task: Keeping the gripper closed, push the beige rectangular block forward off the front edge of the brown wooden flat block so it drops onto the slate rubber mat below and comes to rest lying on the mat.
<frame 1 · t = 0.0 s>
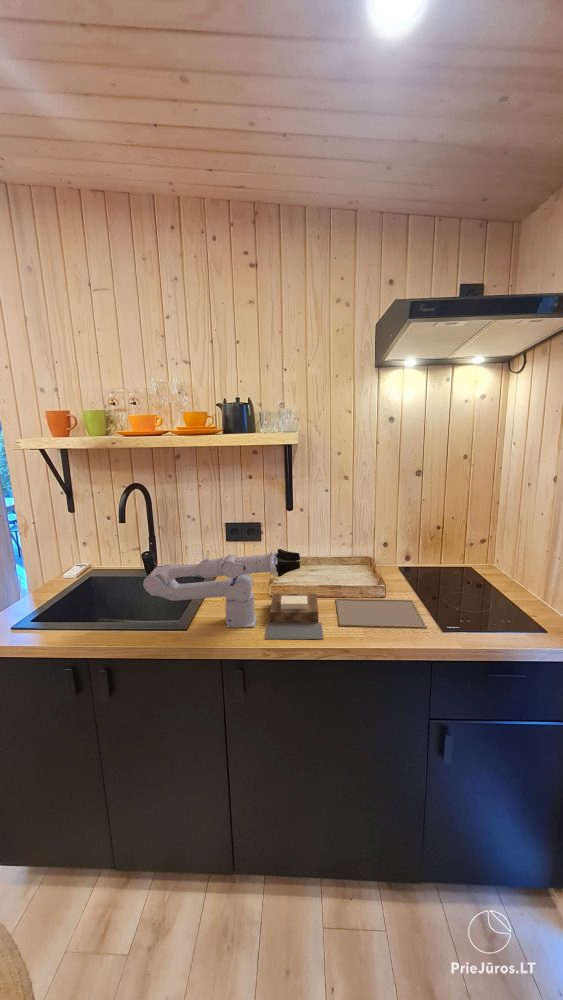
hand: (299, 560, 131), 22 cm above the counter, tool horizontal, fingers open, 7 cm apart
taupe placemat: (377, 614, 140), on the counter
mat: (294, 631, 130), on the counter
beige rectangular block: (294, 605, 139), point 4 cm above the counter, touching brown wooden flat block
brown wooden flat block: (294, 613, 141), on the counter
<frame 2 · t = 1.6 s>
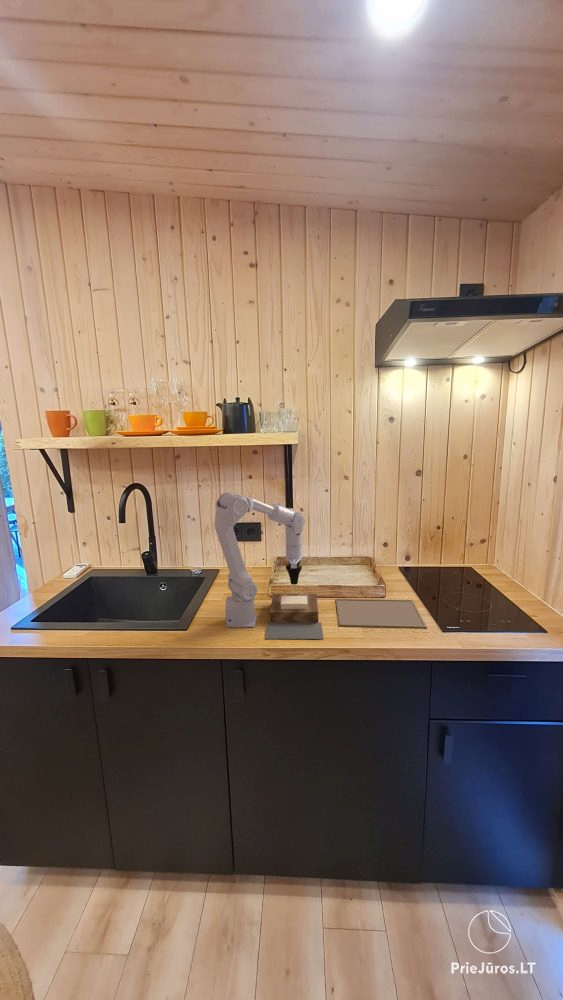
hand: (294, 579, 146), 9 cm above the counter, tool pointing down, fingers open, 7 cm apart
nothing on the counter moved.
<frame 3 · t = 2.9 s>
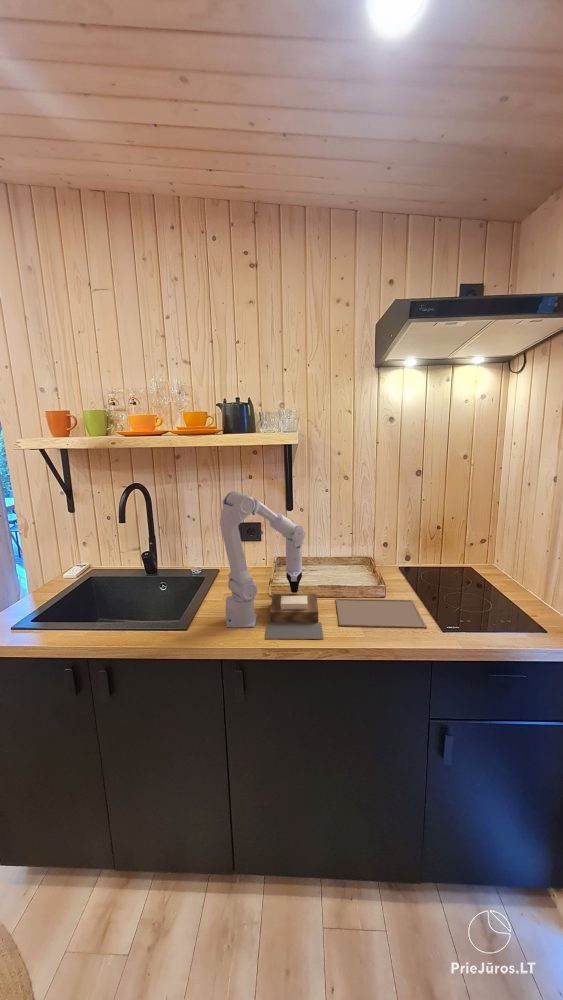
hand: (294, 592, 147), 5 cm above the counter, tool pointing down, fingers closed
nothing on the counter moved.
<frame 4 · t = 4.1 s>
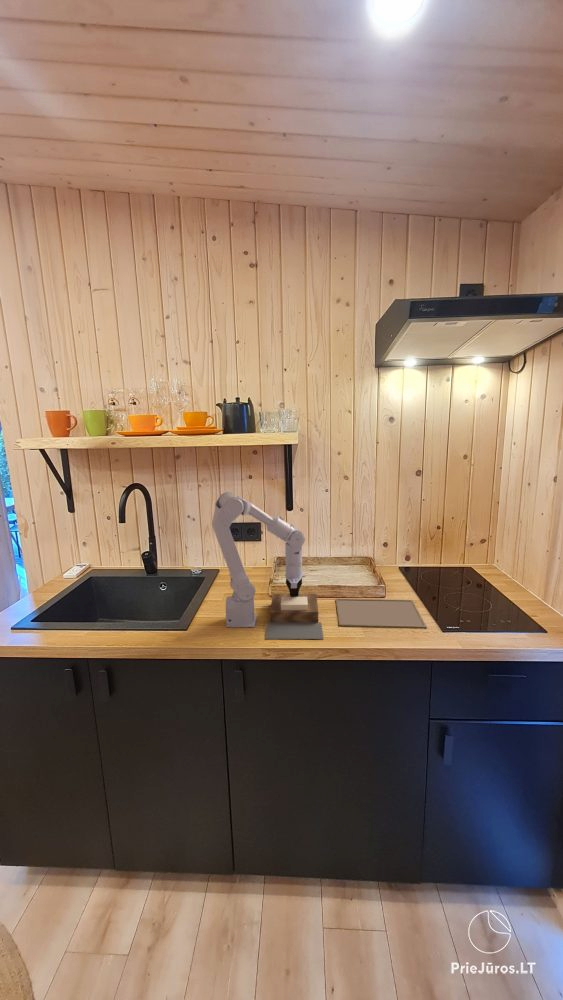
hand: (294, 598, 142), 5 cm above the counter, tool pointing down, fingers closed
beige rectangular block: (294, 606, 138), point 4 cm above the counter, touching gripper
everything else where it was.
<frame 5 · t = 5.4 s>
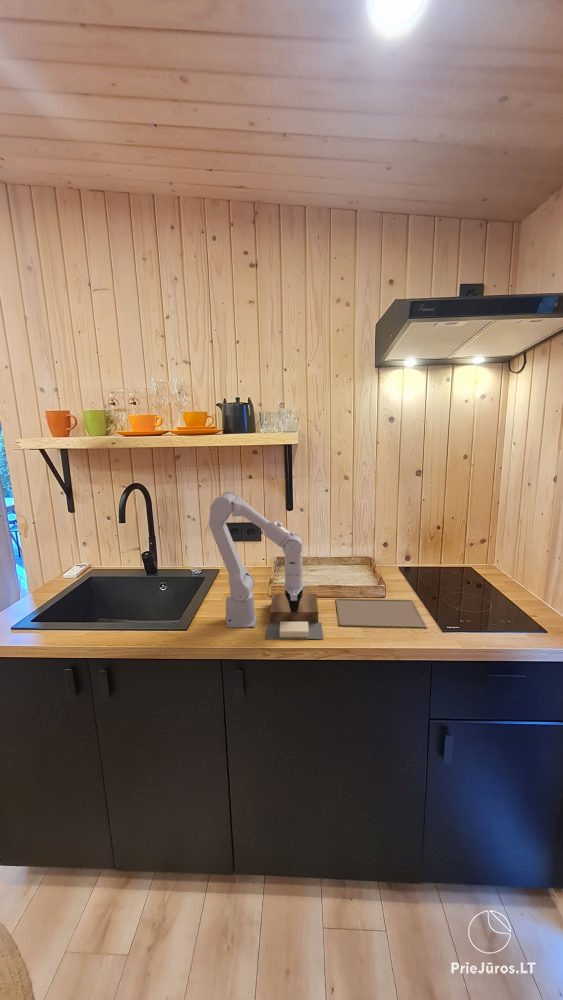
hand: (294, 611, 133), 5 cm above the counter, tool pointing down, fingers closed
beige rectangular block: (294, 626, 128), point 2 cm above the counter, tilted 180°, touching mat
everything else where it was.
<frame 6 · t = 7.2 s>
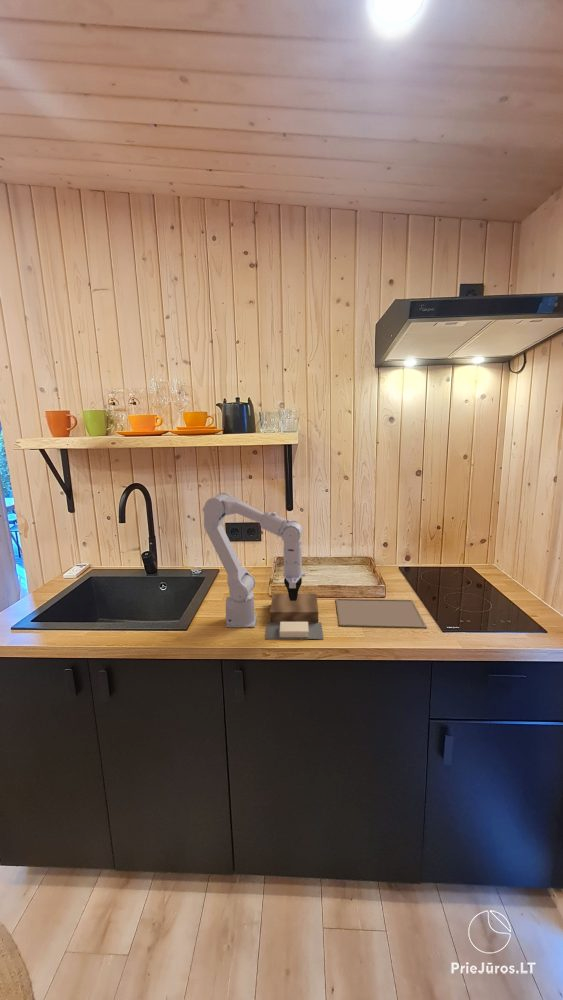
hand: (293, 599, 131), 9 cm above the counter, tool pointing down, fingers closed
nothing on the counter moved.
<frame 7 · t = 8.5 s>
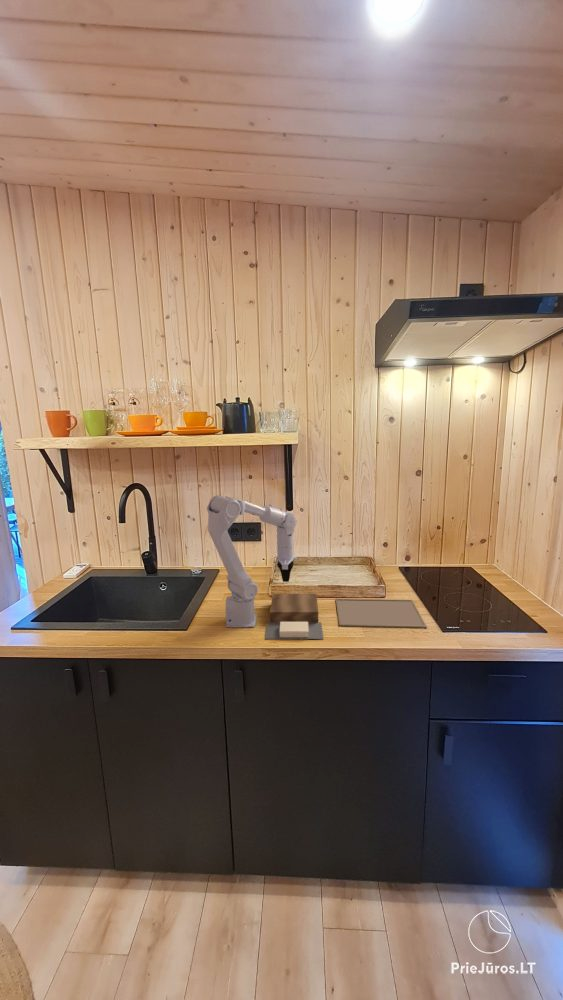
hand: (285, 581, 145), 9 cm above the counter, tool pointing down, fingers closed
nothing on the counter moved.
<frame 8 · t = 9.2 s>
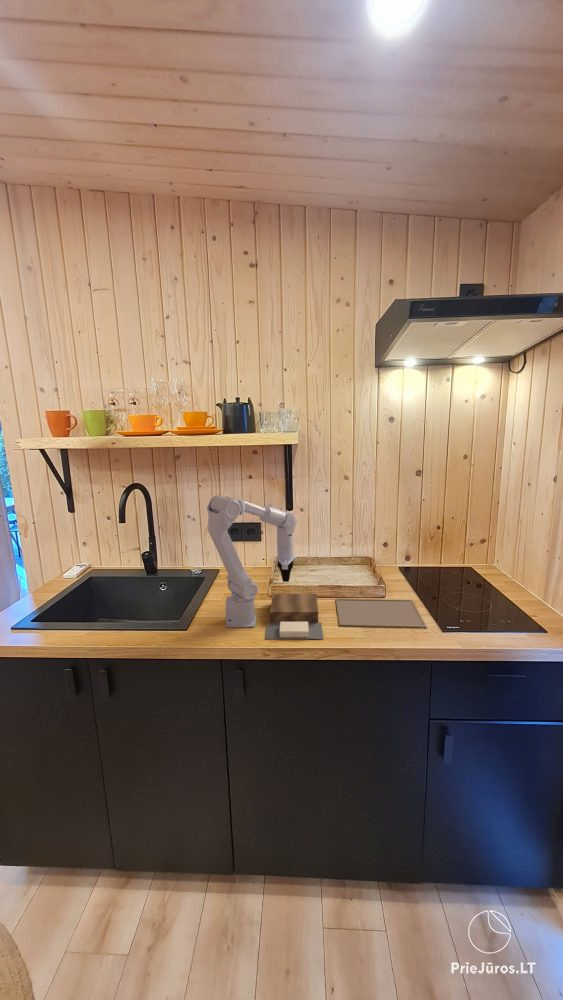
hand: (285, 581, 145), 9 cm above the counter, tool pointing down, fingers closed
nothing on the counter moved.
at the end: beige rectangular block inside the target area (1.2 cm from its centre), point 2.3 cm above the counter; beige rectangular block touching mat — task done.
